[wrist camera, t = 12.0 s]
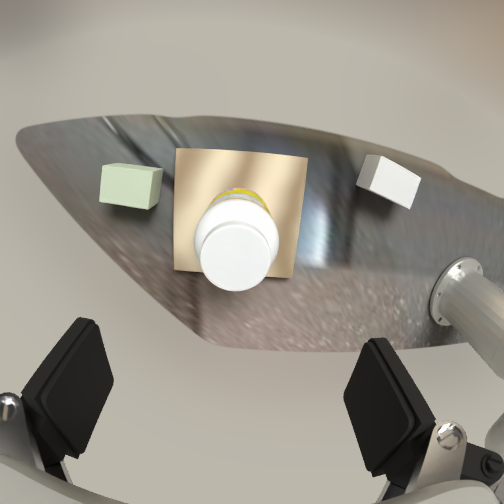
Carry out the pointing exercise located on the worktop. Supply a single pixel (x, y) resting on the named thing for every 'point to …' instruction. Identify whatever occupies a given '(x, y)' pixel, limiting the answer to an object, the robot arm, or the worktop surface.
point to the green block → (130, 185)
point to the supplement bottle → (236, 240)
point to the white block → (388, 180)
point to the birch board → (230, 176)
